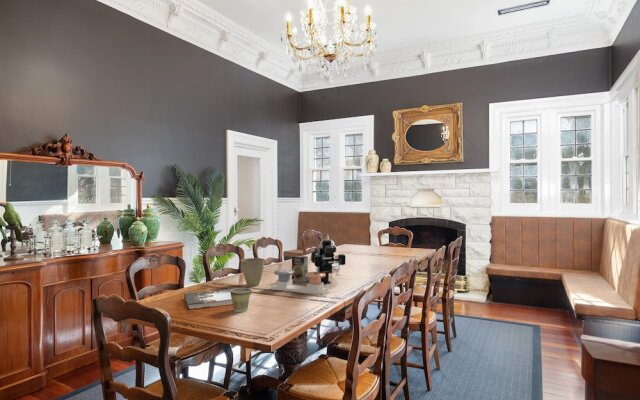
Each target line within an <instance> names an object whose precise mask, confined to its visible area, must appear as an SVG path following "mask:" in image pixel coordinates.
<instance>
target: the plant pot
mask: <svg viewBox="0 0 640 400" xmlns="http://www.w3.org/2000/svg"><path fill="white" fill-rule="evenodd" d="M265 261H266V260H265V258H262V257H261V258H260V257H252V258H251V257H249V258H242V259H241V260H240V266H241V270H242V274H243V277H244V280H245V283H246V285H247V286H248V287H255V286H260V283H261V280H262V277H263V272H264V268H265Z"/></svg>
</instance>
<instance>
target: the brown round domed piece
mask: <svg viewBox="0 0 640 400" xmlns="http://www.w3.org/2000/svg"><path fill="white" fill-rule="evenodd" d="M325 276H326V274H325V273H323V272H317V271H310V272H309V271H308V273H305V277H308V278H309V283H310V284H316V285H318V284H320V283H321V278H322V277H325Z"/></svg>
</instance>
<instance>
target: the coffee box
mask: <svg viewBox="0 0 640 400" xmlns="http://www.w3.org/2000/svg"><path fill="white" fill-rule="evenodd" d="M308 259H309V258H308V256H306V255H305V256H304V255H294V256H292V257H291V270H293V271H294V274H291V280H292V282H297V283H299V282H300V283H305V282H308V280H309V279H308V277H305V273H308V272H309V271H308V270H309V269H308V268H309V265H308V262H309V261H308Z"/></svg>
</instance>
